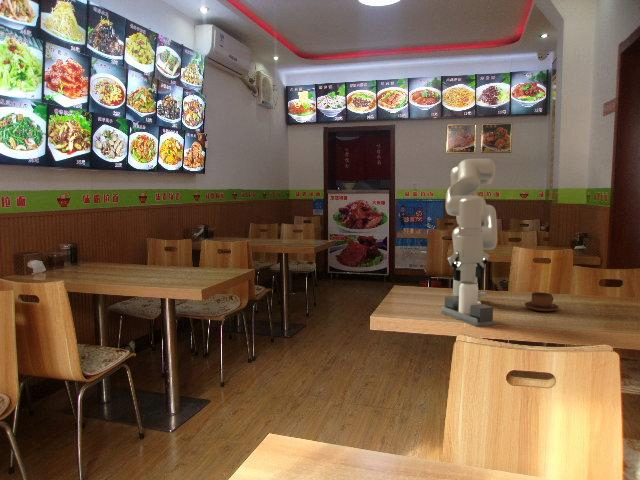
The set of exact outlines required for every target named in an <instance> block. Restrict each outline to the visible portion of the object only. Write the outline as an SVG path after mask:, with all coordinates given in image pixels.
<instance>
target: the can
mask: <svg viewBox="0 0 640 480" xmlns="http://www.w3.org/2000/svg"><path fill="white" fill-rule="evenodd" d="M478 291H479V286H478V282H477V283H476V282H472V281H462V282H461V284H460V287H459V312H461V313H463V314H466V315H469V316H470V307H471V305H477V303H478Z"/></svg>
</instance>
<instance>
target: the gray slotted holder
mask: <svg viewBox="0 0 640 480" xmlns="http://www.w3.org/2000/svg"><path fill="white" fill-rule="evenodd" d="M440 311H441V312H440V313H441V314H442V313H443V315H445V314H446V315H445V316H447V315H448V317H450V316H451V317H450V318H452V317H453V318H452V319H455V318H456V319H455V320H458V321H460V320H461V322H463V321H464V322H463V323H465V322H466V323H465V324H467V325H468V324H469V325H471V326H474V327H476V328H478V327H484V326H491V325H492V324H494V325H495V324H496V321H495V320H494V307H493V306H490V305H489V304H485V303H481V304H479V305H471V307H470V316H469V315H466V314H463V313H461V312H459V296H453V295H450V296H448V295H447V296H444V305H442V306H441V309H440Z"/></svg>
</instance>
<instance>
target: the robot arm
mask: <svg viewBox="0 0 640 480" xmlns="http://www.w3.org/2000/svg"><path fill="white" fill-rule="evenodd" d="M495 176H496V163H495V162H494V161H493V159H491V158H466V159H463V160H461V161H460V162H459V163H458V165H457V166H454V167H453V168H452V169H451V170H450V184H451V185H450V186H449V187H448V189H447V191H446V194H445V211H446V214H447V215H449V216H453V217H456V222H457V223H456V224H457V225H458V226H457V227H455V228H454V229H453V230H452V233H451V236H452V237H451V238H452V245H453V247H452V249H453V254H452V255H450V256H448V257H447V261H448V264H449V266H450V267H451V268H452V270H453V276H452V277H453V278H452V281H453V283H452V296H459V287H460V284H461V282H462V281H472V282H476V283H477V284H478V279H481V280H482V279H483V276H484V268H485V267H486V264H487V263H488V260H489V258H490V254H488V253H487V252H485V251H490V250H491V251H492V250H493V249H495V248H496V247H497V245H498V227H497V225H498V224H497V222H498V221H497V211H496V208H495V207H494V206H493V205H491V204H487V203H486V200H485V198H484V197H483V196H481V195H477V194H476V192H477V191H478V190H479V189H480V187H481V185H482V186H485V185H491V183H492V182H493V180H494V178H495ZM484 250H485V251H484ZM480 297H481V298H482V297H487V292H486V291H481V292H480V291H479V290H478V302H481V299H480Z"/></svg>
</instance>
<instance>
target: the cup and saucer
mask: <svg viewBox="0 0 640 480" xmlns="http://www.w3.org/2000/svg"><path fill="white" fill-rule="evenodd" d="M553 301H554V296H553V294H551V293H547V292H541V291H539V292H537V291H536V292H532V293H531V301H527V302H524V305H525V307H526V308H527V309H530V310H532V311H537V312H554V311H556V310H558V309H559V305H557V304H555V303H553Z"/></svg>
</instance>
